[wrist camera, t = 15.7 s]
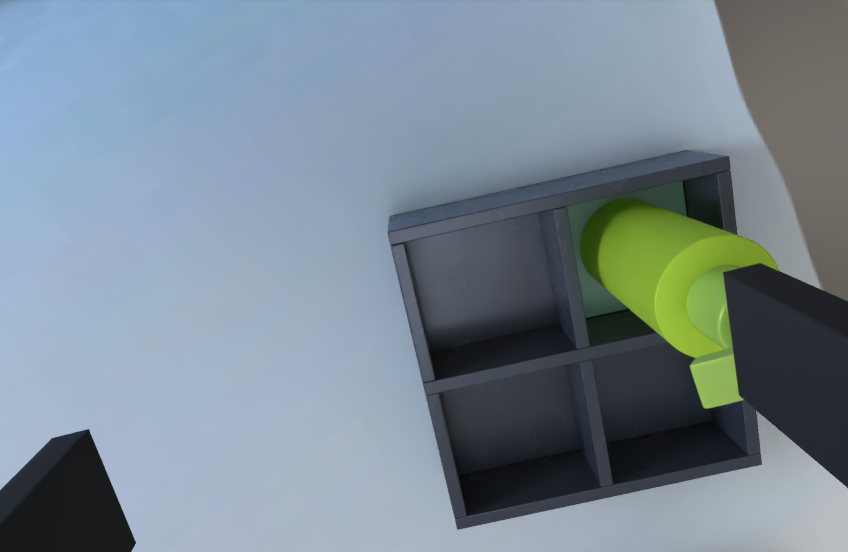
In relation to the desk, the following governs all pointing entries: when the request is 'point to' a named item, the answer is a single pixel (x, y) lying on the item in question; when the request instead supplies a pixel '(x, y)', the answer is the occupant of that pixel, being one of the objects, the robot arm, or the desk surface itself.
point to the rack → (558, 347)
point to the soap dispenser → (673, 282)
